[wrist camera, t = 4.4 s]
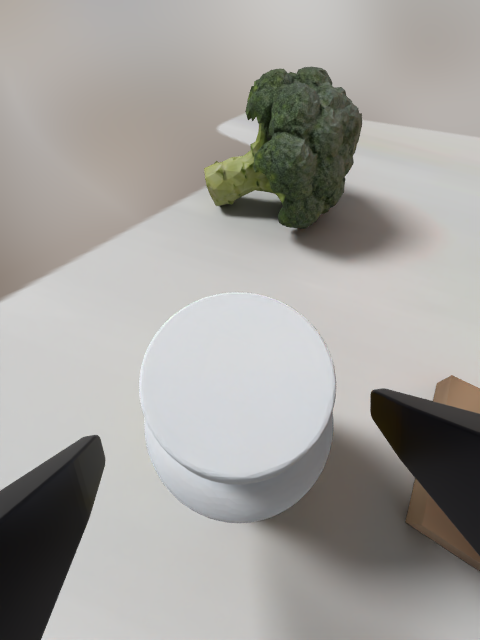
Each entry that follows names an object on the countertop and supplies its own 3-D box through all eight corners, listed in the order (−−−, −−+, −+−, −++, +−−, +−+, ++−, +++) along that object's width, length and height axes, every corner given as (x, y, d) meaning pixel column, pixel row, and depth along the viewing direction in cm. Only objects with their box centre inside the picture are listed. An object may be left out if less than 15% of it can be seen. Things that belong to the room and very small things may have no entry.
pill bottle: (314, 448, 16) (438, 380, 6) (232, 540, 13) (219, 672, 4) (243, 371, 18) (249, 238, 9) (164, 436, 16) (50, 354, 6)
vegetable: (223, 144, 32) (354, 82, 26) (246, 248, 35) (370, 215, 28) (157, 99, 22) (349, -28, 15) (196, 252, 24) (376, 201, 18)
